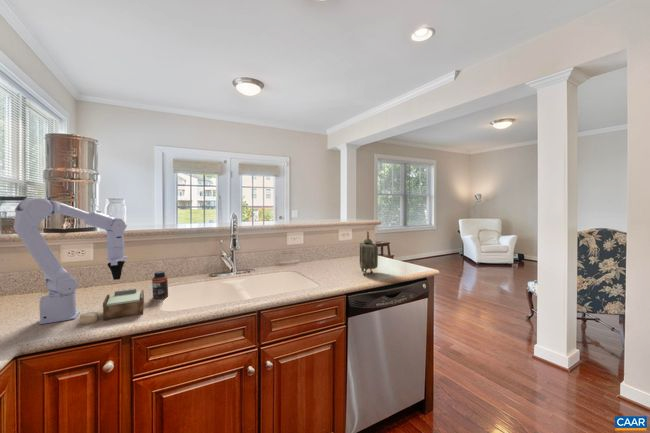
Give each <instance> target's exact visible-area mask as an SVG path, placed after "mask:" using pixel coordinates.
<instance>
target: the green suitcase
mask: <svg viewBox="0 0 650 433" xmlns="http://www.w3.org/2000/svg"><path fill="white" fill-rule="evenodd" d="M378 256H379V251H378V246H377V244H376V243H374V242H373V241H372V239H371V238H370V231H369V230H368V231H367V232H366V238H365V239H364V241H363V242H360V243H359V267H360V269H361V271H362V272H363V273H362V276H364V277H365V276H366V275H367V274H366V273H367V271H368V270H369V273H370V274H371V275H372V274H373V273H374V272H373V270H374V269H375V270H376V268H378V265H379V264H378V263H379V262H378V261H379V260H378Z"/></svg>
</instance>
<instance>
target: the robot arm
mask: <svg viewBox="0 0 650 433" xmlns="http://www.w3.org/2000/svg"><path fill="white" fill-rule="evenodd" d="M14 212H15V215H14V221H13V230H14V232H15V234H17V236H18V237H19V239H20V241H21V242H22V243H23V245H24V247H25V248H26V249H27V251H28V252H29V254H30V256H31V257H32V258H33V259H34V260H33V261H35V263H36V264H37V266H38V267H39V269H40V271H41V272H42V273H43V275H42V277H43V278H44V281H45V283H44V284H45V287H46V289H47V290H49V293H48V295H43V296H41V298H40V300H39V304H38V305H39V306H38V307H39V324H40V325H45V324H49V323H51V324H52V323H56V322H61V321H62V322H63V321H68V320H69V321H70V320H75V319H76V318H77V317H78V315H79V313H80V310H77V300H76V299H77V297H76V291H77V289H78V286H79V282H78V280H77V278H75V277H73V276H71V275H70V273H69V272H68V271H67V270H66V269H65V268H64V267H63V266H62V265H61V263H60V261H59V260H58V259H57V257H56V256H55V253H54V252H53V251H52V250H51V248H50V246H49V245H48V243H47V241H46V239H44V237H43V235H42V234H41V232H40V231H39V229H38V228H39V226H40V225H41V224H42V222H43V221H44V220H45V219H46V218H47V217H49V216H50V215H57V214H60V215H64V216H67V217H72V218H75V219H78V220H83V221H84V223H85V225H87V226H91V227H95V228H98V229H101V230H104V231H106V246H107V252H106V253H107V258H106V261H108V263H107V265H106V266H107V267H108V268H109V270H110V271H111V275H112V279H113V280H114V281H116V280H120V279H121V277H122V273H123V272H122V271H123V267H124V265H125V263H126V261H125V259H128V258H129V256H128V255H126V256H125V230H126V229H127V226H128V225H127V224H126V222H125V221H124V219H122V218H119V217H118V218H115V217H114V215H111V214H109V215H108V214H104V213H102V212H101V210H98V209H97V210H90V211H85V210H82V209H81V208H76V207H75V206H70V205H68V204H66V203H64V202H59V201H55V200H50V199H49V200H48V199H46V198H44V197H43V198H42V197H40V198H31V197H30V198H24V199H22V200H21V201H19V203H18V204H17V206H15V208H14Z"/></svg>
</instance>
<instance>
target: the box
mask: <svg viewBox="0 0 650 433" xmlns="http://www.w3.org/2000/svg"><path fill="white" fill-rule="evenodd" d="M140 291H141V294H140V301H137V302H130V303H123V304H116V305H110V306H107V302H108V300H109V298H110V294H106V296H105V298H104V300H103V303H102V315H103V317H102V318H103V321H109V320H115V319H120V318H126V317H132V316H139V315H143V314H144V308H145V293H144V292H145V290H144V289H141V290H140Z"/></svg>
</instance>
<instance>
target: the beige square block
mask: <svg viewBox="0 0 650 433" xmlns="http://www.w3.org/2000/svg"><path fill="white" fill-rule="evenodd" d="M98 321H99V313H98V312H96V311H92V312H87V313H86V312H85V313H83V314H81V315H79V324H80V325H82V326H83V325H90V324H94V323H96V322H98Z"/></svg>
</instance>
